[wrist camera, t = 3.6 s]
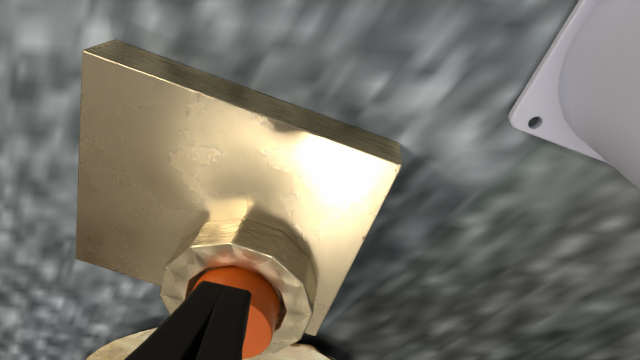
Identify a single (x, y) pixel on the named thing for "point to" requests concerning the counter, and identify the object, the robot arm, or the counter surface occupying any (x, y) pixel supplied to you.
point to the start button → (251, 305)
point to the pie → (294, 356)
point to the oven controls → (221, 184)
